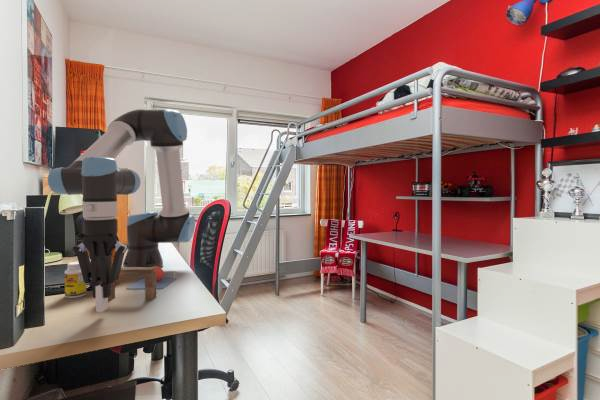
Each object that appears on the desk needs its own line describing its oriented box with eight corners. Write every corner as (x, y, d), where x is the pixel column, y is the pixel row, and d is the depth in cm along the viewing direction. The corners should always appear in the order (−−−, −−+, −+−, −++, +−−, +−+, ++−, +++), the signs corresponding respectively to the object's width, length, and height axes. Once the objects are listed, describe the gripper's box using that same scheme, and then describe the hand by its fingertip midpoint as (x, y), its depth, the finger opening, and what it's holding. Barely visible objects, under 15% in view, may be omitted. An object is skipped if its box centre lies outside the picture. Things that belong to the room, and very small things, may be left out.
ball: (151, 277, 118) (149, 263, 116) (166, 277, 118) (165, 263, 116) (144, 284, 112) (142, 270, 111) (160, 284, 112) (158, 270, 111)
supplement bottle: (60, 297, 98) (59, 264, 97) (78, 292, 103) (78, 260, 102) (72, 299, 96) (72, 265, 95) (91, 294, 101) (90, 261, 100)
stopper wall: (148, 277, 120) (148, 271, 120) (175, 277, 120) (175, 271, 120) (146, 278, 118) (146, 272, 118) (173, 278, 118) (173, 272, 118)
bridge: (108, 297, 98) (107, 267, 98) (156, 297, 98) (156, 267, 98) (102, 300, 95) (102, 269, 95) (152, 300, 95) (151, 269, 95)
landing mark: (143, 279, 118) (143, 278, 118) (176, 278, 118) (176, 278, 118) (126, 289, 106) (126, 288, 106) (162, 289, 106) (162, 288, 106)
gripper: (64, 219, 78) (66, 315, 79) (118, 219, 78) (119, 315, 79) (84, 217, 85) (85, 304, 86) (133, 217, 86) (134, 304, 86)
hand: (102, 309), depth 82 cm, fingers closed
